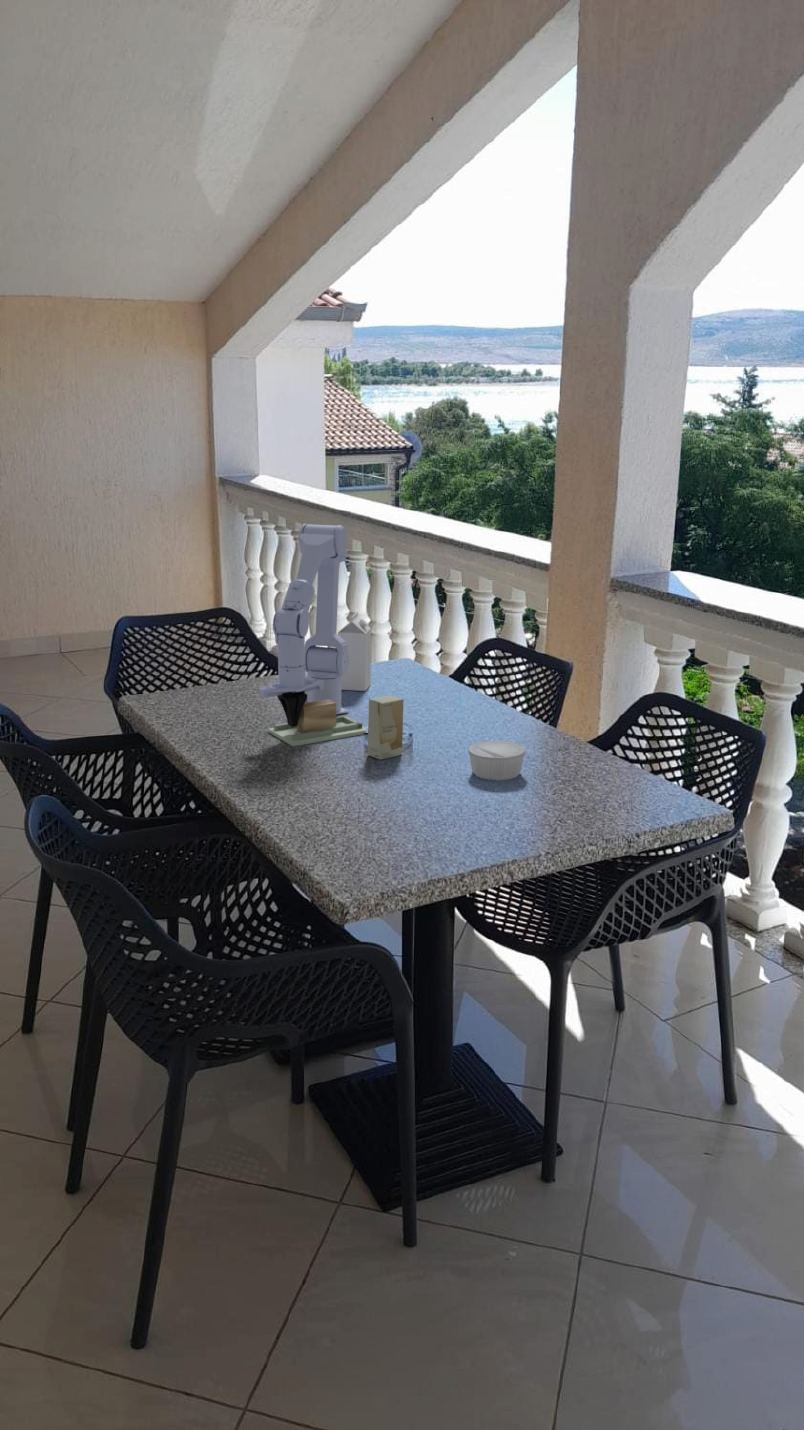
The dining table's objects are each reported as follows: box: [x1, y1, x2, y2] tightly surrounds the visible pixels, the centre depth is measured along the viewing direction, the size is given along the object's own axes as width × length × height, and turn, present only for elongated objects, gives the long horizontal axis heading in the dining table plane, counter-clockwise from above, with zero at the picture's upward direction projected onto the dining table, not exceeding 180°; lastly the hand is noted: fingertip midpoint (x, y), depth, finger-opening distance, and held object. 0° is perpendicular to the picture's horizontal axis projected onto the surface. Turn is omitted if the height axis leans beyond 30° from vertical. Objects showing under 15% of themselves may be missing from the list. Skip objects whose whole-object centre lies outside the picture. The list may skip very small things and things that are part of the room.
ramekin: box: [468, 740, 526, 782], centre depth 221 cm, size 11×11×5 cm
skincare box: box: [367, 694, 404, 761], centre depth 230 cm, size 6×4×12 cm
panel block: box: [297, 699, 337, 733], centre depth 245 cm, size 4×8×6 cm, turn 122°
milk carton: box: [337, 611, 372, 692], centre depth 282 cm, size 7×7×19 cm
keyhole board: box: [267, 714, 368, 747], centre depth 246 cm, size 12×19×2 cm, turn 122°
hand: (292, 725), depth 243 cm, fingers closed
